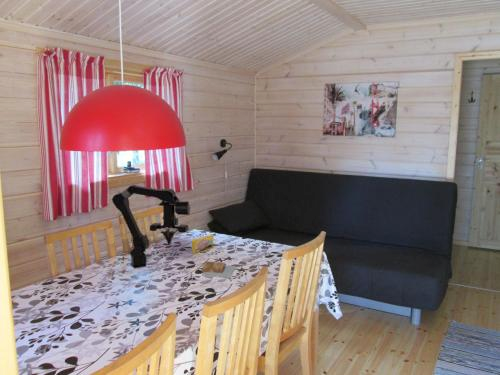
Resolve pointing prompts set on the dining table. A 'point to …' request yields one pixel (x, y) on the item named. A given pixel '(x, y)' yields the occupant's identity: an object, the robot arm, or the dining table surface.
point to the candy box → (202, 244)
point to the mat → (226, 273)
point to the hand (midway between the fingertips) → (169, 244)
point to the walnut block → (213, 267)
